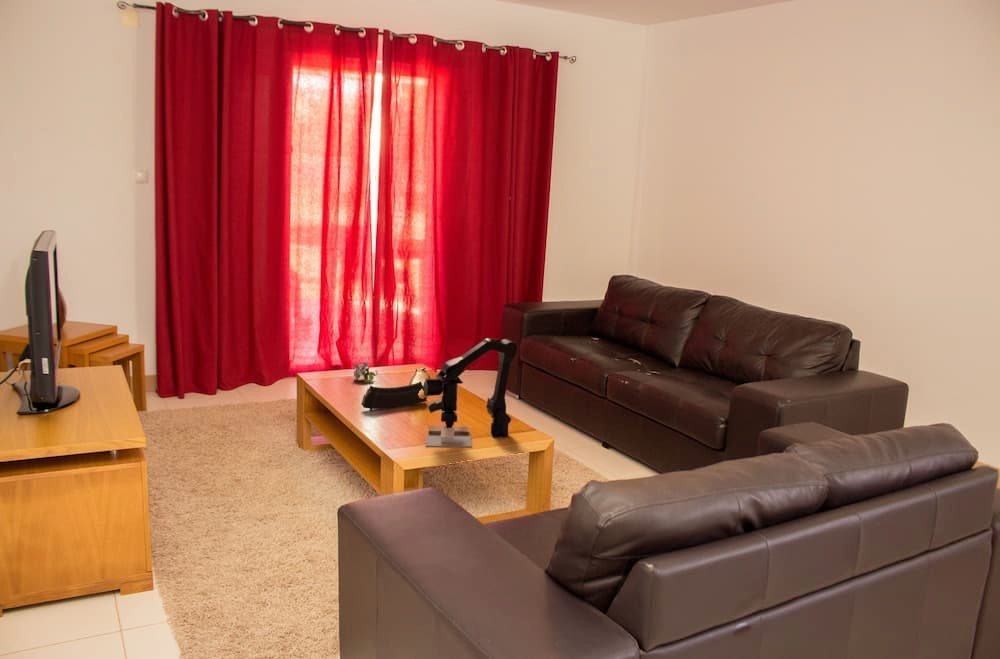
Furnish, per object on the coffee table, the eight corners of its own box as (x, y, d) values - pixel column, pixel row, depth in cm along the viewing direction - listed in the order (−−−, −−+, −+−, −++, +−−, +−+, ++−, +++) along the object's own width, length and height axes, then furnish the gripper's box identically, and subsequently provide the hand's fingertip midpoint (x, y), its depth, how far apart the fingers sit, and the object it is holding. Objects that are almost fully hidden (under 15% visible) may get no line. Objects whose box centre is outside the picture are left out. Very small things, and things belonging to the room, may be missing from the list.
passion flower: (356, 391, 406) (348, 369, 409) (377, 385, 410) (369, 363, 413) (360, 383, 396) (352, 361, 399) (381, 377, 401) (373, 355, 404)
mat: (470, 436, 331) (470, 435, 331) (471, 447, 319) (471, 446, 319) (426, 435, 330) (426, 434, 330) (425, 446, 317) (425, 445, 317)
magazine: (429, 382, 374) (370, 370, 357) (432, 384, 371) (373, 372, 354) (418, 418, 375) (359, 407, 358) (421, 420, 372) (362, 409, 355)
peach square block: (454, 433, 326) (454, 427, 324) (453, 442, 322) (453, 437, 320) (441, 432, 326) (441, 427, 324) (440, 441, 322) (440, 436, 320)
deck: (467, 431, 337) (468, 426, 337) (468, 436, 331) (468, 431, 331) (428, 430, 336) (429, 426, 335) (428, 435, 330) (428, 430, 330)
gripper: (429, 386, 331) (428, 423, 334) (428, 400, 312) (427, 439, 316) (457, 387, 331) (455, 424, 335) (457, 401, 313) (456, 440, 317)
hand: (448, 431), depth 325 cm, fingers closed
